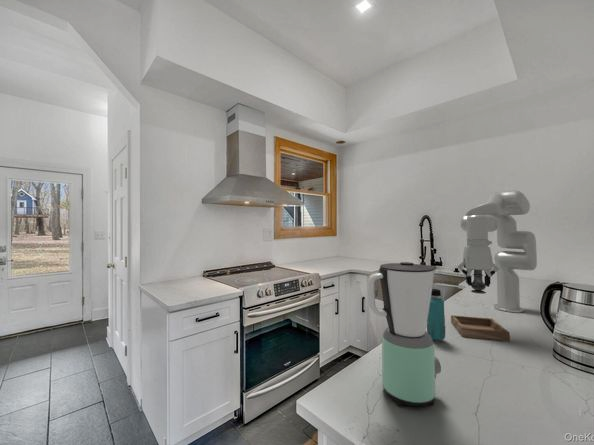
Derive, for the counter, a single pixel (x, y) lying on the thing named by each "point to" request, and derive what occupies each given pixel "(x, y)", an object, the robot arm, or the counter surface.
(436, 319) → the beverage bottle
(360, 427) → the counter surface
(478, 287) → the dark grey rounded piece
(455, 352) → the counter surface
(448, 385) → the counter surface
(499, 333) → the tray
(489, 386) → the counter surface
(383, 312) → the mint green blender
